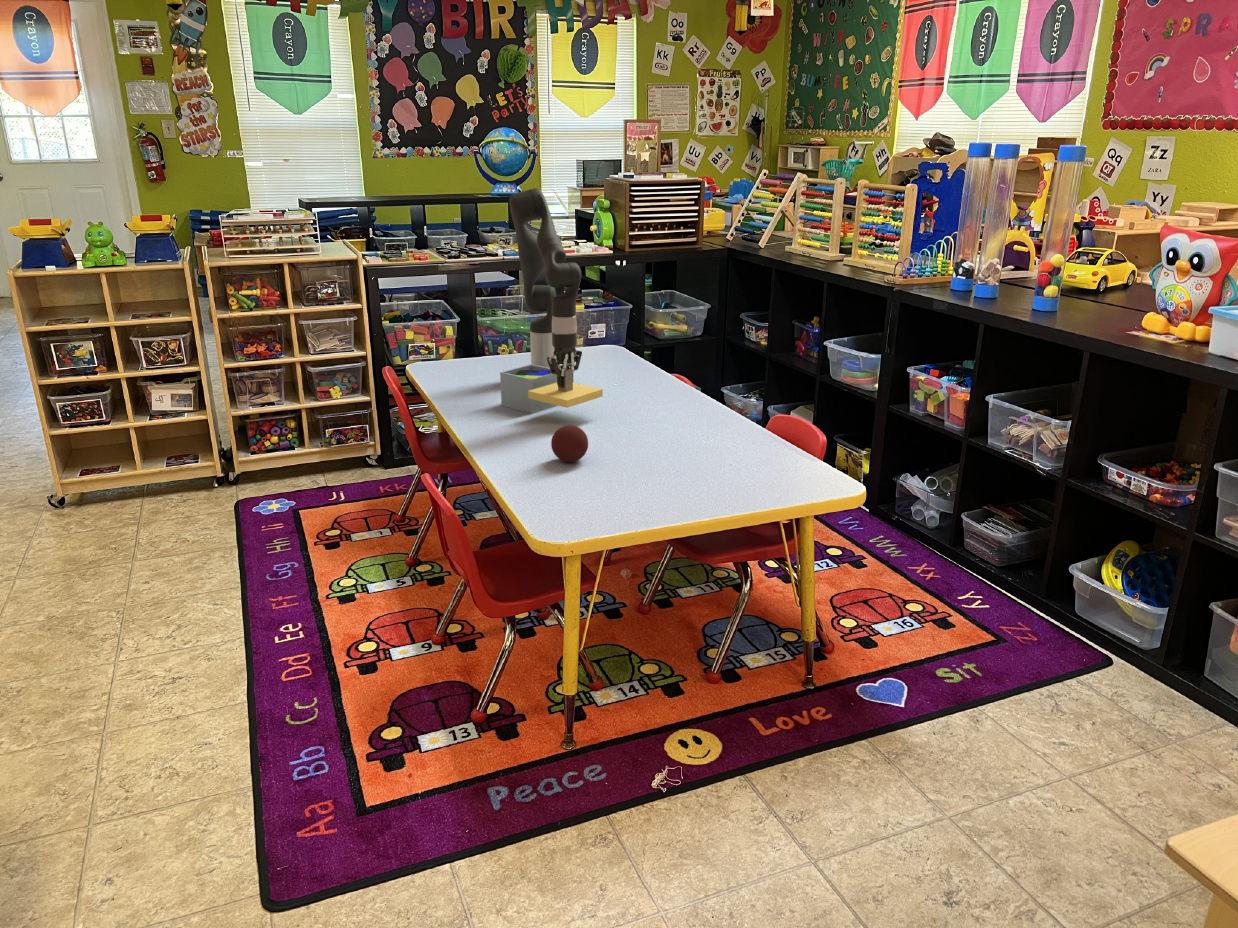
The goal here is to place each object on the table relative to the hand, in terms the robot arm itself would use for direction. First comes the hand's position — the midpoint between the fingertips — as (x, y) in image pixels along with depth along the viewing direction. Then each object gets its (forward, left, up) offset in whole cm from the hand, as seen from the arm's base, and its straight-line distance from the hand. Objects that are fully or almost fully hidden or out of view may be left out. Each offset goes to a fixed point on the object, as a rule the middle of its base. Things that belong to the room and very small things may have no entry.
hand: (565, 385), depth 276 cm
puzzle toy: (-4, -18, -10) cm, 21 cm away
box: (-4, -18, -10) cm, 22 cm away
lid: (0, 0, -4) cm, 4 cm away
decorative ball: (+28, +27, -11) cm, 40 cm away
